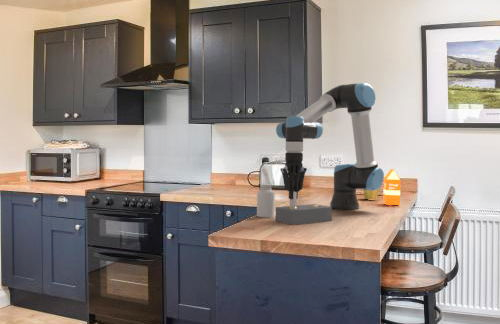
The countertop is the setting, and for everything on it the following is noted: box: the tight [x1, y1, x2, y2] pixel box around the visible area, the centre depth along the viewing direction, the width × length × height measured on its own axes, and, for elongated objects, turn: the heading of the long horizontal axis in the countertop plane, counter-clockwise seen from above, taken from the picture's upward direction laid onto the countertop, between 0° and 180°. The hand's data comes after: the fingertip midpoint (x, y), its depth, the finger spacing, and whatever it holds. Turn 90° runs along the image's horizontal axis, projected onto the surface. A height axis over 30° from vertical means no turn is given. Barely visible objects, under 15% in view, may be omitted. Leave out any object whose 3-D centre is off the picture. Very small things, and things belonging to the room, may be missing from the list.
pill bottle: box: [256, 183, 275, 219], centre depth 224 cm, size 8×8×15 cm
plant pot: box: [362, 187, 381, 200], centre depth 292 cm, size 10×10×10 cm
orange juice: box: [382, 168, 402, 206], centre depth 271 cm, size 8×9×20 cm
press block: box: [274, 203, 333, 226], centre depth 214 cm, size 22×12×6 cm, turn 123°
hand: (293, 206), depth 210 cm, fingers closed
